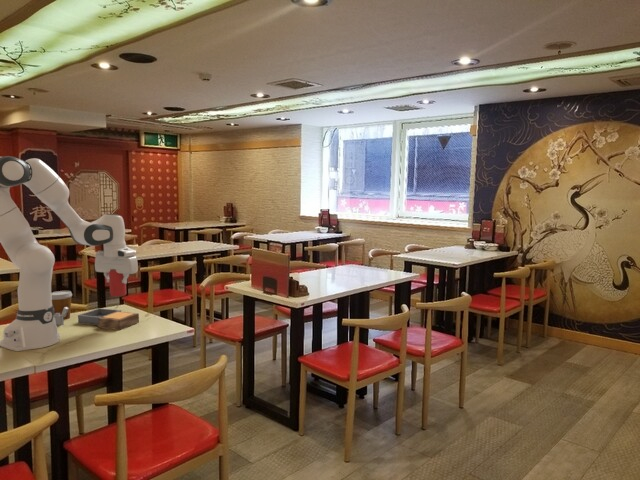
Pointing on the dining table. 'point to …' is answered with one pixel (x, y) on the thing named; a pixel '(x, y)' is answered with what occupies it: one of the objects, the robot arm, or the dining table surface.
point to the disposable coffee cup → (61, 302)
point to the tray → (94, 315)
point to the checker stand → (118, 322)
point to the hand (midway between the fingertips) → (116, 282)
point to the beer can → (116, 284)
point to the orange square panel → (118, 315)
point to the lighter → (60, 316)
